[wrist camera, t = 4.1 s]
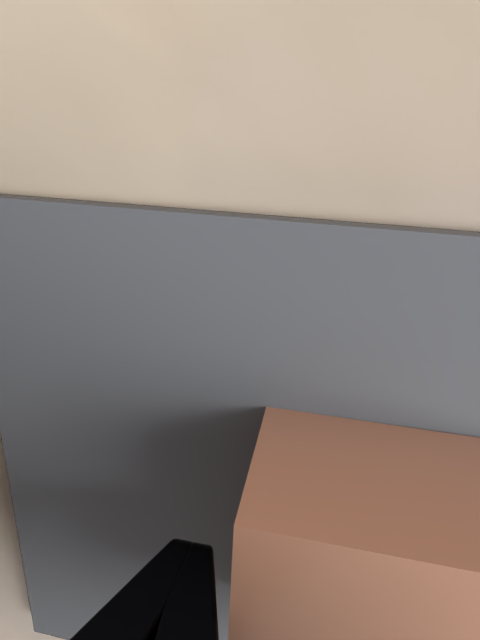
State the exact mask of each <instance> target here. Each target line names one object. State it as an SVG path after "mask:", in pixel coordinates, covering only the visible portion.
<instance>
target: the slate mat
mask: <svg viewBox="0 0 480 640" xmlns="http://www.w3.org/2000/svg"><path fill="white" fill-rule="evenodd" d="M266 406H267V407H273V408H280V409H287V410H294V411H301V412H308V413H314V414H321V415H328V416H335V417H342V418H349V419H356V420H362V421H369V422H376V423H383V424H390V425H397V426H404V427H410V428H417V429H424V430H431V431H438V432H445V433H451V434H458V435H465V436H472V437H479V438H480V232H472V231H460V230H447V229H434V228H422V227H409V226H397V225H384V224H372V223H359V222H347V221H334V220H322V219H309V218H297V217H284V216H271V215H259V214H246V213H234V212H221V211H209V210H196V209H184V208H171V207H159V206H146V205H134V204H121V203H109V202H96V201H83V200H71V199H58V198H46V197H33V196H21V195H8V194H0V433H1V439H2V445H3V451H4V457H5V463H6V468H7V474H8V480H9V486H10V492H11V498H12V503H13V509H14V515H15V521H16V527H17V532H18V538H19V544H20V550H21V556H22V562H23V567H24V573H25V579H26V585H27V591H28V597H29V602H30V608H31V614H32V620H33V626H34V631H35V632H39V633H43V634H47V635H51V636H55V637H59V638H63V639H67V640H70V639H71V638H72V637H73V636H74V635H75V634H76V633H77V632H78V631H79V630H80V629H81V628H82V627H83V626H84V625H85V624H86V623H87V622H88V621H89V620H90V619H91V618H92V617H93V616H94V615H95V614H96V613H97V612H98V611H99V610H100V609H101V608H102V607H103V606H104V605H105V604H106V603H107V602H109V601H110V600H111V599H112V598H113V597H114V596H115V595H116V594H117V593H118V592H119V591H120V590H121V589H122V588H123V587H124V586H125V585H126V584H127V583H128V582H129V581H130V580H131V579H132V578H133V577H134V576H135V575H136V574H137V573H138V572H139V571H140V570H141V569H142V568H143V567H144V566H145V565H146V564H147V563H148V562H149V561H150V560H151V559H152V558H153V557H154V556H155V555H156V554H157V553H158V552H159V551H160V550H161V549H163V548H164V547H165V546H166V545H167V544H168V543H169V542H170V541H171V540H172V539H182V540H187V541H191V542H197V543H202V544H207V545H211V546H212V547H213V553H214V569H215V585H216V601H217V616H218V632H219V640H228V629H229V610H230V590H231V571H232V551H233V532H234V523H235V519H236V516H237V512H238V508H239V505H240V501H241V497H242V494H243V490H244V486H245V483H246V479H247V475H248V472H249V468H250V464H251V461H252V457H253V453H254V450H255V446H256V442H257V439H258V435H259V431H260V428H261V424H262V420H263V417H264V413H265V409H266Z"/></svg>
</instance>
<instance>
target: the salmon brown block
mask: <svg viewBox="0 0 480 640" xmlns="http://www.w3.org/2000/svg"><path fill="white" fill-rule="evenodd" d="M228 640H480V438H479V437H472V436H465V435H458V434H451V433H445V432H438V431H431V430H424V429H417V428H410V427H404V426H397V425H390V424H383V423H376V422H369V421H362V420H356V419H349V418H342V417H335V416H328V415H321V414H314V413H308V412H301V411H294V410H287V409H280V408H273V407H267V406H266V409H265V413H264V417H263V420H262V424H261V428H260V431H259V435H258V439H257V442H256V446H255V450H254V453H253V457H252V461H251V464H250V468H249V472H248V475H247V479H246V483H245V486H244V490H243V494H242V497H241V501H240V505H239V508H238V512H237V516H236V519H235V523H234V532H233V551H232V571H231V590H230V610H229V629H228Z"/></svg>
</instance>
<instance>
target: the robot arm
mask: <svg viewBox="0 0 480 640" xmlns="http://www.w3.org/2000/svg"><path fill="white" fill-rule="evenodd" d="M70 640H219V632H218V616H217V601H216V585H215V569H214V553H213V547H212V546H211V545H207V544H202V543H197V542H191V541H187V540H182V539H172V540H171V541H170V542H169V543H168V544H167V545H166V546H165V547H164V548H163V549H161V550H160V551H159V552H158V553H157V554H156V555H155V556H154V557H153V558H152V559H151V560H150V561H149V562H148V563H147V564H146V565H145V566H144V567H143V568H142V569H141V570H140V571H139V572H138V573H137V574H136V575H135V576H134V577H133V578H132V579H131V580H130V581H129V582H128V583H127V584H126V585H125V586H124V587H123V588H122V589H121V590H120V591H119V592H118V593H117V594H116V595H115V596H114V597H113V598H112V599H111V600H110V601H109V602H107V603H106V604H105V605H104V606H103V607H102V608H101V609H100V610H99V611H98V612H97V613H96V614H95V615H94V616H93V617H92V618H91V619H90V620H89V621H88V622H87V623H86V624H85V625H84V626H83V627H82V628H81V629H80V630H79V631H78V632H77V633H76V634H75V635H74V636H73V637H72V638H71V639H70Z"/></svg>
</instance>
